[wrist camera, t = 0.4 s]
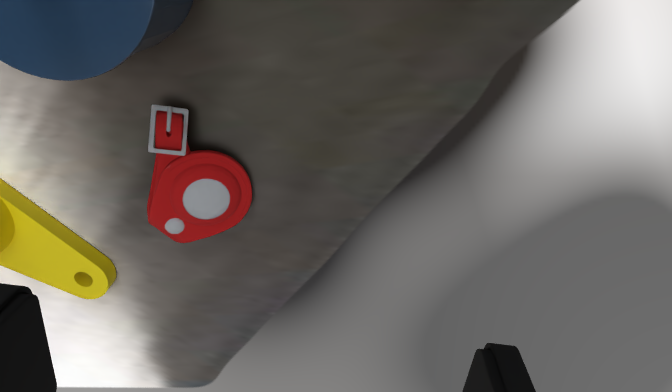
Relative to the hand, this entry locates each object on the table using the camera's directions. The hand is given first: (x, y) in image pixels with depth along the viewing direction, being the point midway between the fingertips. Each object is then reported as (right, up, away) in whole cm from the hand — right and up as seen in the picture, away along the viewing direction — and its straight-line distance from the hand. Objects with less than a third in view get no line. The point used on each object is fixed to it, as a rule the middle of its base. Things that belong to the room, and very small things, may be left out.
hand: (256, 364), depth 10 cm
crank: (-28, 0, +35) cm, 45 cm away
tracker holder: (-10, +6, +31) cm, 34 cm away
